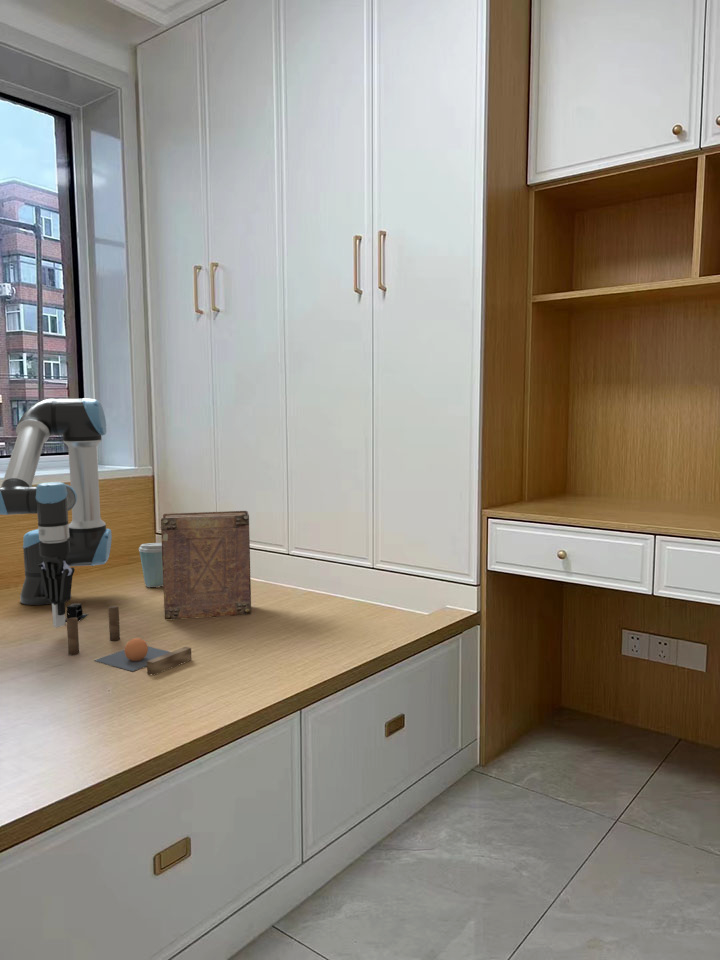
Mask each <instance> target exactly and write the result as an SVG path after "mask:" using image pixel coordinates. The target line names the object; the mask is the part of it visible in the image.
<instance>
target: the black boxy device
mask: <svg viewBox="0 0 720 960" xmlns="http://www.w3.org/2000/svg"><path fill="white" fill-rule="evenodd" d="M65 612H66V617H65V623H67V620H66V619H68V618H73V617H75V618H78V622H79V620H80V621H81V620H82V618H83V619H84V618H85V617H87V616H89V613H86V614H85V613H83V605H82V603H71V604H69V605H68V606H66V609H65Z"/></svg>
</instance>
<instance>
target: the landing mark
mask: <svg viewBox="0 0 720 960" xmlns="http://www.w3.org/2000/svg"><path fill="white" fill-rule="evenodd" d="M147 646H148V645H147ZM124 650H125V649H122V650H120V651H117V652H113V653H111V654H108V655H105V656H101V657H99V658H97V659H94V660H93V661H94V662H96V663H100V662H101V663H100V664H103V663H104V664H103V665H107V664H108V666H110V665H111V667H114V666H115V667H114V668H117V667H118V669H121V668H122V669H121V670H124V669H125V671H128V670H129V671H128V672H131V671H133V672H136V671H138V670H140V668H141V669H143V667H144V668H147V661H149V660H151V659H154V658H157V657H159V656H162V655H165V654H167V653H170V652H171V651H169V650H164V649H161V648H156V647H152V646H148V652H147V655H146V656H145V657H144V658H143V659H142V660H140V661H131V660H129V659H128V658H127V657H126V655H125V652H124ZM137 669H138V670H137ZM135 670H136V671H135Z"/></svg>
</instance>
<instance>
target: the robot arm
mask: <svg viewBox="0 0 720 960" xmlns="http://www.w3.org/2000/svg"><path fill="white" fill-rule="evenodd" d="M15 433H16V435H17V436H16V437H17V438H16V440H15V443H14V445H13V450H12V452H11V455H10V459H9V462H8V464H7V468H6V471H5V474H4V477H3V481H2V484H1V486H0V515H1V516H10V515H27V514H28V515H30V514H35V515H37V526H38V527H37V528H36V529H33V530H30V531H28V532H26V533H24V535H23V537H22V538H23V540H22V541H23V542H22V543H23V544H22V545H23V546H22V549H23V550H22V551H23V563H24V564H23V565H24V566H23V567H24V582H23V585H22V589H21V592H20V596H19V597H20V603H21V604H24V605H27V606H43V605H44V606H45V605H51V613H52V626H53V628H61V627H64V626H66V622H65V619H66V602H69V601H70V600H71V598H72V587H73V586H72V585H73V576H74V573H75V567H82V566H83V567H84V566H85V567H86V566H91V567H94V566H98V565H99V566H100V565H104V564H106V563H107V562H108V560H109V558H110V553H111V547H112V536H113V535H112V530H111V529H110V528H107V524H106V522H105V521H104V520H103V519H102V518H101V502H100V500H101V499H100V498H101V497H100V484H99V482H100V481H99V467H98V466H99V463H98V445H99V444H100V443H101V442H102V436H105V435H106V434H107V421H106V416H105V411H104V408H103V405H102V404H101V401H99V400H98V399H96V398H85V397H83V398H48V399H43V400H42V401H41V400H40V401H39V402H37V403H35V404H34V405H32V406H31V407H29V408H28V409H27V410H26V411H25V412H23V414H22V415H21V417H20V418H19V420H18V423H17V425H16V427H15ZM52 436H54V437H55V436H57V437H58V436H59V437H60V436H62V442H63V444H65V445H66V446H67V447H68V448H67V449H68V465H69V480H70V482H69V483H70V485H69V484H65V482H62V481H61V482H60V481H49V482H48V481H47V482H41V483H38V484H37V485H36V486H32V485H33V482H34V479H35V475H36V470H37V468H38V465H39V461H40V457H41V455H42V451H43V448H44V444H45V443H46V442H47V441H48V440H49V438H50V437H52ZM69 511H71V514H72V515H71V516H72V519H71V522H69Z"/></svg>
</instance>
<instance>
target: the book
mask: <svg viewBox="0 0 720 960" xmlns="http://www.w3.org/2000/svg"><path fill="white" fill-rule="evenodd" d="M162 516H163V517H162V518H161V519H160V532H161V535H160V536H161V543H162V562H163V586H162V587H163V608H164V609H163V611H164V620H166V619H172V620H181V618H187V619H197V618H196V617H202V618H211V617H210V616H216V617H228V616H227V615H230V616H239V615H240V616H242V614H245V615H252V594H251V592H252V591H251V590H252V589H251V588H252V585H251V553H250V552H251V547H250V546H251V545H250V538H251V537H250V514H249V511H247V510H238V511H237V510H235V511H234V510H232V511H231V510H229V511H206V512H205V511H203V512H179V513H178V512H177V513H174V512H173V513H164V514H163V515H162ZM166 621H167V620H166Z"/></svg>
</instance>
